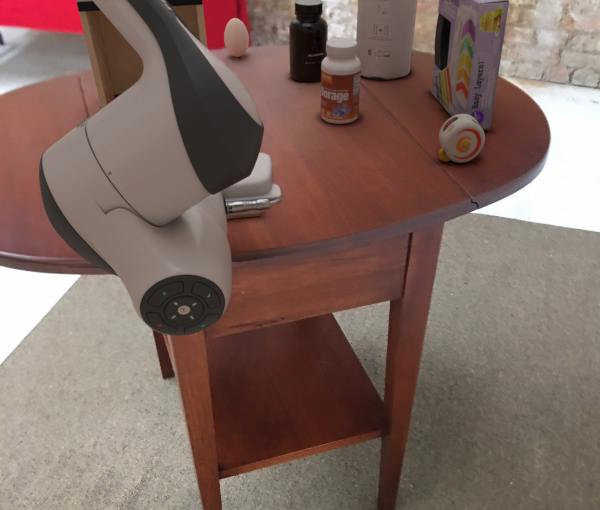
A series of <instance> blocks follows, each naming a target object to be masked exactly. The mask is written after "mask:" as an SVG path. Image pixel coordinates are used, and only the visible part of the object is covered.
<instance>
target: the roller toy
mask: <svg viewBox="0 0 600 510" xmlns="http://www.w3.org/2000/svg"><path fill="white" fill-rule="evenodd" d="M485 142H486V136H485V131H483V129H482V128H481V126H480V125H479V123H478V122H477V121H476V120H475V118H474V117H472V116H471V115H468V114H458V115H455V116H453V117H451V116H450V117H449V118H448V119H447V120H445V122H444V123H443V124H442V125H441V127H440V130H439V133H438V143H439V147H440V149H439V151H438V158H439V160H440V161H441V162H444V163H448V162H450V161H452V162H453V163H457V164H464V163H468V162H470V161H472V160H474V159H475V158H476V157H477V156H478V155H480V153H481V151H482V150H483V148H484V145H485Z"/></svg>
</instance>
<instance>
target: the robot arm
mask: <svg viewBox="0 0 600 510" xmlns="http://www.w3.org/2000/svg"><path fill="white" fill-rule="evenodd" d="M93 1H94V3H95V4H96V5H97V6H98V7H99V9H100V10H101V11H102V12H103V13H104V14H105V16H106V17H107V18H108V19H109V20H110V21H111V23H112V24H113V25H114V26H115V27H116V29H117V30H118V31H119V32H120V33H121V34H122V36H123V37H124V38H125V39H126V40H127V41H128V43H129V44H130V45H131V46H132V47H133V49H134V50H135V51H136V52H137V53H138V54H139V56H140V57H141V59H142V61H143V66H144V69H143V74H142V76H141V78H140V79H139V80H138V81H137V82H136V83H135V84H134V85H133V86H131V87H130V88H129V89H127V90H126V91H125V92H123V93H122V94H118V95H117V97H115V98H114V100H113V101H112V102H110V103H109V104H108V105H106V106H105V107H104V108H102V109H101V108H100V110H98V111H97V112H96V113H94V114H93V115H92V116H89V117H87V118H86V119H84V120H83V121H82V122H80V123H79V124H77V125H76V126H75V127H74V128H72V129H71V130H70V131H69V132H68V133H66V134H64V135H63V136H62V137H60V139H58V140H57V141H56V142H54V143H53V144H52V145H51V146H50V147H48V148H47V149H46V150H43V152H42V154H41V156H40V159H39V165H38V183H39V188H40V194H41V199H42V203H43V208H44V211H45V214H46V216H47V218H48V220H49V222H50V224H51V226H52V228H53V229H54V231H55V232H56V234H58V236H59V237H60V238H61V239H62V240H63V242H65V243H66V245H67V246H69V248H71V249H72V250H73V251H74V252H75V253H76V254H78V256H80V257H82V259H84V260H85V261H87V262H88V263H89V264H92V265H93V266H95V267H96V268H99V269H101V270H103V271H105V272H107V273H108V274H111V275H112V276H116V277H117V278H119V279H120V281H121V282H122V284H123V286H124V288H125V289H126V292H127V293H128V296H129V297H130V301H131V304H132V306H133V308H134V310H135V312H136V314H137V316H138V318H139V319H140V320H141V321H142V322H143V323H144V325H146V326H147V327H148V328H150V329H151V330H153V331H155V332H156V333H160V334H162V335H166V336H173V337H176V336H177V337H179V336H189V335H194V334H197V333H200V332H203V330H205V329H208V328H209V327H211V326H212V325H214V324H215V323H217V322H219V320H220V319H221V318H222V317H223V316H224V314H225V312H226V310H227V309H228V306H229V304H230V301H231V296H232V290H233V261H232V260H233V259H232V251H231V245H230V242H229V239H228V233H229V232H228V231H229V229H228V221H227V220H228V219H226V216H236V215H246V214H256V213H260V214H261V213H264V212H267V211H269V209H270V208H271V207H272V206H275V205H277V204H281V202H282V201H283V193H282V189H281V187H280V186H279V184H277V183H275V182H274V167H273V166H274V165H273V158H272V156H271V155H269V154H268V153H265V152H261V148H262V144H263V139H264V132H265V125H264V123H263V121H262V118H261V114H260V112H259V109H258V107H257V105H256V102H255V100H254V98H253V97H252V95H251V94H250V92H249V90H248V88H247V86H245V84H244V83H243V82H242V81H241V79H240V78H239V77H238V76H237V75H236V74H235V72H234V71H233V70H232V69H231V68H230V67H229V66H228V65H226V63H224V61H222V60H221V59H220V58H219V57H218V56H216V54H214V53H213V52H212V51H211V50H210V49H207V48H206V47H205V46H204V45H203V44H202V42H201V41H200V40H199V39H198V38H197V37H196V35H195V34H194V33H193V32H192V31H191V29H190V28H189V27H188V26H187V25H186V23H185V22H184V21H183V20H182V19H181V17H180V16H179V15H178V14H177V12H176V11H175V10H174V9H173V8H172V6H171V5H170V4H169V3H168V1H167V0H93Z"/></svg>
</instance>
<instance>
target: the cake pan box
mask: <svg viewBox="0 0 600 510" xmlns="http://www.w3.org/2000/svg"><path fill="white" fill-rule="evenodd" d="M509 8H510V1H509V0H438V8H437V12H438V15H437V19H436V26H435V33H434V35H435V36H434V64H433V69H432V79H431V89H430V92H431V93H430V94H432V95H433V97H434V98H435V99H436V100H437V101H438V103H439V104H440V105H441V106H442V107H443V109H444V110H445V111H446V112H447V113H448V115H449V116H450V118H451V117H453V116H455V115H458V114H468V115H471V116H472V117H474V118H475V120H476V121H477V122H478V123H479V125H480V126H481V128H482V129H483V131H484V132H486V131H490V128H491V126H492V118H493V112H494V106H495V99H496V93H497V87H498V86H497V85H498V81H499V74H500V68H501V67H500V66H501V59H502V54H503V53H502V52H503V48H504V47H503V46H504V40H505V34H506V33H505V32H506V29H507V28H506V27H507V20H508V14H509Z"/></svg>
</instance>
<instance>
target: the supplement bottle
mask: <svg viewBox="0 0 600 510" xmlns="http://www.w3.org/2000/svg"><path fill="white" fill-rule="evenodd" d="M323 6H324V3H323V0H295V1H294V15H295V17H294V18H292V20H291V21H290V23H289V26H288V28H289V29H288V38H289V40H288V41H289V43H288V44H289V46H288V47H289V75H290V77H291V78H292V79H293V80H295V81H297V82H304V83H312V82H313V83H315V82H318V81H321V64H322V61H323V59H324V58H325V57H327V56H328V54H327V53H326V42H327V41H328V40H329V39H328V37H329V25H328V23H327V20H326V19H325V18H323V17H322V15H323V14H324V10H323V9H324V7H323Z"/></svg>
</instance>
